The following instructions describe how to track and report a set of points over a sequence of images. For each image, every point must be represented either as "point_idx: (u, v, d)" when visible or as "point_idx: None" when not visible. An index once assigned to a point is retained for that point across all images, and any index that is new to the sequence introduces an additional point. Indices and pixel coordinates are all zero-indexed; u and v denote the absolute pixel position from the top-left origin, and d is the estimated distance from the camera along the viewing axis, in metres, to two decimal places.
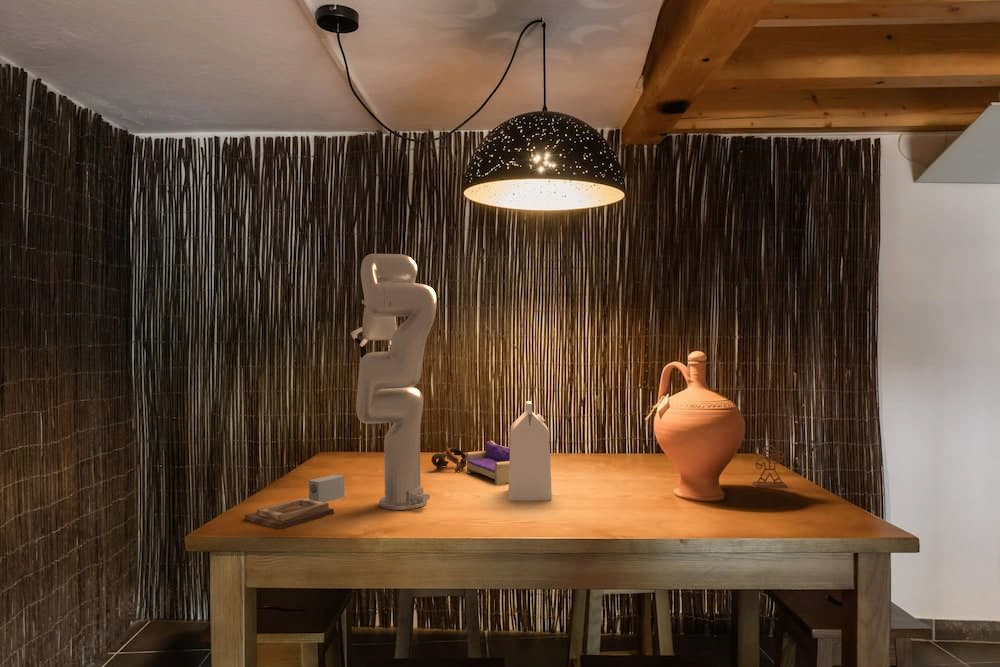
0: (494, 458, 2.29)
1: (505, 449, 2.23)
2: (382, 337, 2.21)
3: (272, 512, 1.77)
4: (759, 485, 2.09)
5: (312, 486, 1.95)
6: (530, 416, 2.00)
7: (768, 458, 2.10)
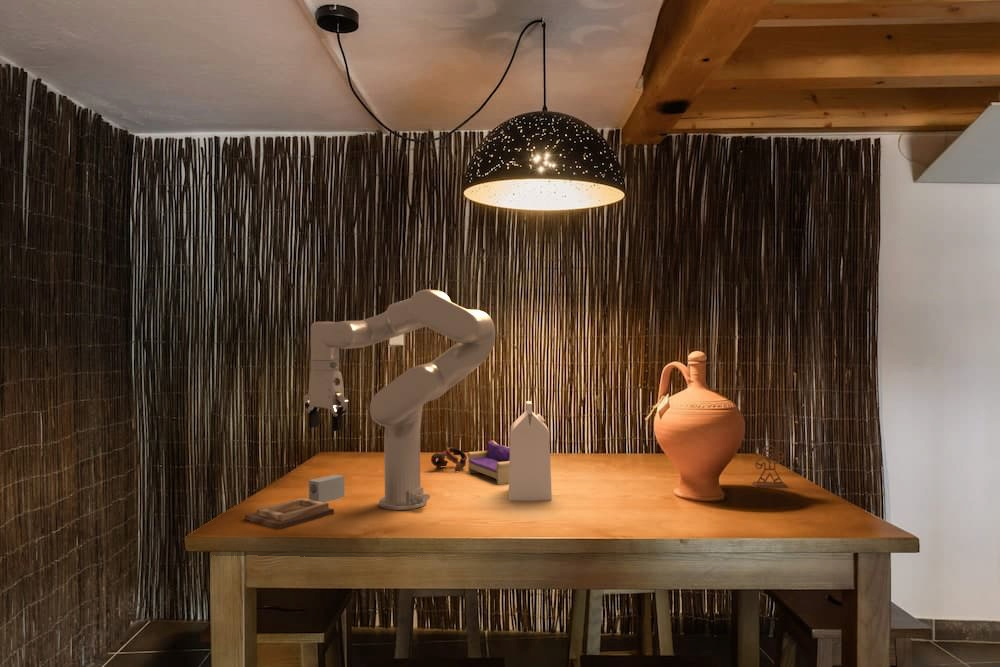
0: (495, 458, 2.29)
1: (506, 449, 2.24)
2: None
3: (272, 512, 1.77)
4: (759, 485, 2.09)
5: (312, 486, 1.95)
6: (530, 416, 2.00)
7: (768, 458, 2.10)
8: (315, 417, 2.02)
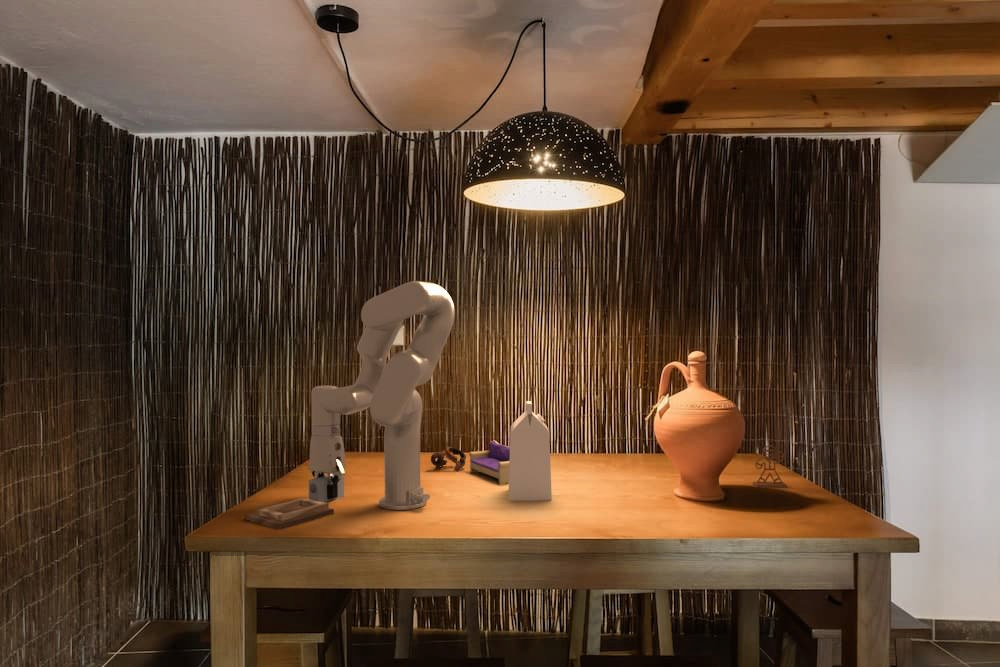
0: (497, 458, 2.30)
1: (508, 449, 2.24)
2: None
3: (272, 512, 1.77)
4: (759, 485, 2.09)
5: (312, 486, 1.95)
6: (530, 416, 2.00)
7: (768, 458, 2.10)
8: None
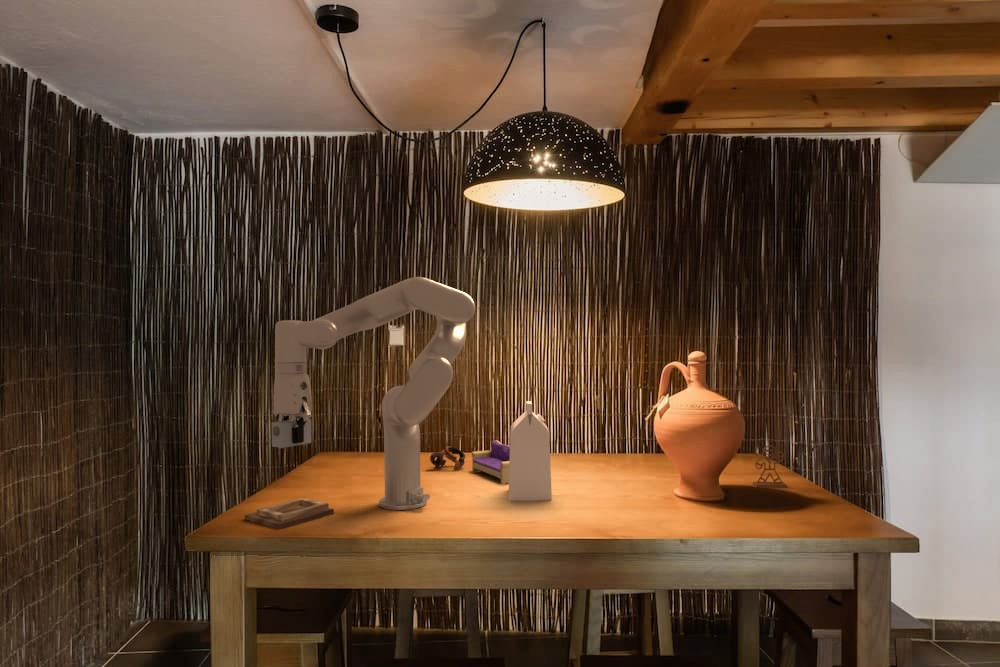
0: (499, 457, 2.30)
1: None
2: None
3: (272, 512, 1.77)
4: (759, 485, 2.09)
5: (275, 428, 1.79)
6: (530, 416, 2.00)
7: (768, 458, 2.10)
8: None
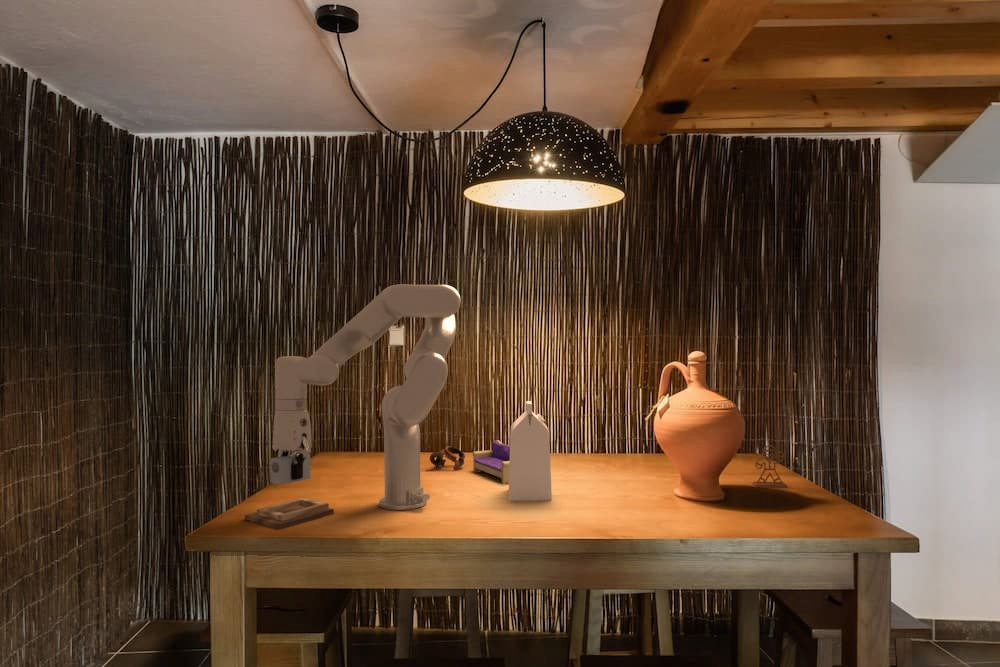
0: (500, 457, 2.30)
1: None
2: None
3: (272, 512, 1.77)
4: (759, 485, 2.09)
5: (274, 465, 1.79)
6: (530, 416, 2.00)
7: (768, 458, 2.10)
8: None
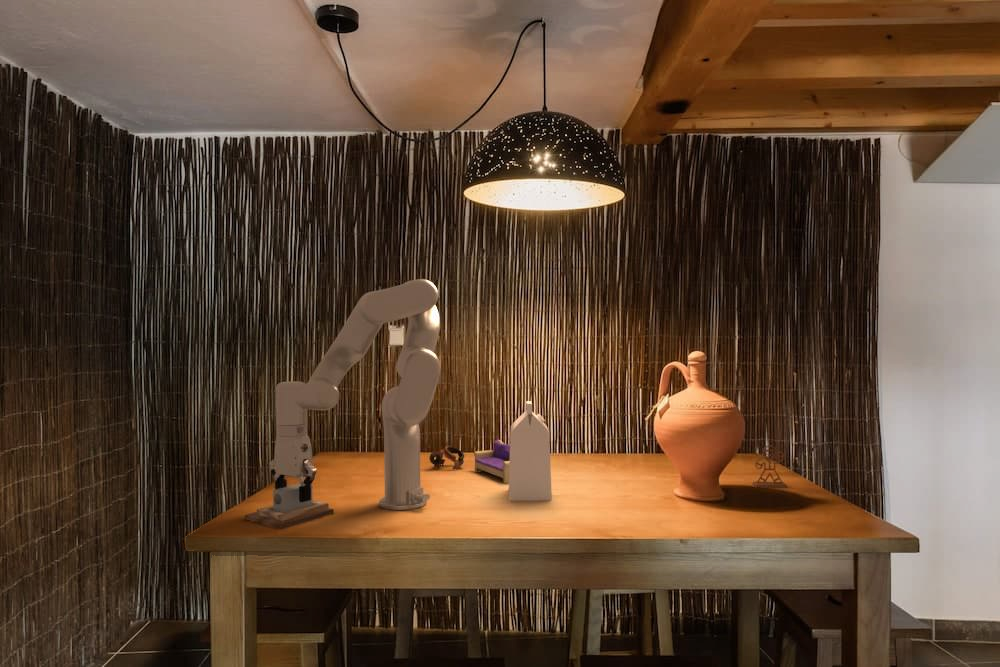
0: (502, 457, 2.31)
1: None
2: None
3: (272, 512, 1.77)
4: (759, 485, 2.09)
5: (276, 496, 1.79)
6: (530, 416, 2.00)
7: (768, 458, 2.10)
8: (282, 485, 1.85)
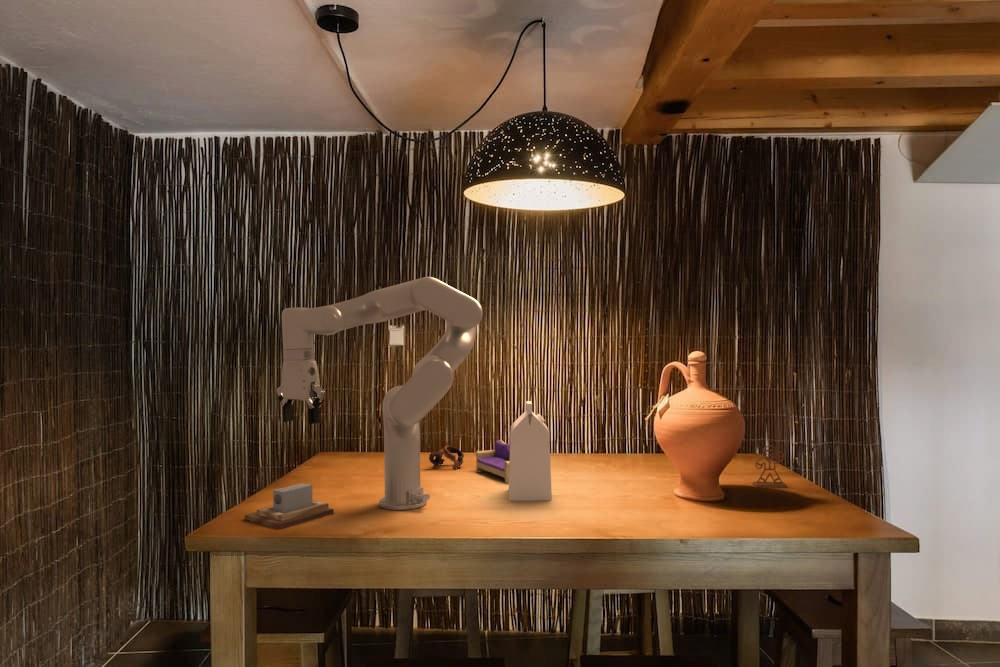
0: (503, 457, 2.31)
1: None
2: None
3: (272, 512, 1.77)
4: (759, 485, 2.09)
5: (276, 496, 1.79)
6: (530, 416, 2.00)
7: (768, 458, 2.10)
8: (290, 410, 1.88)
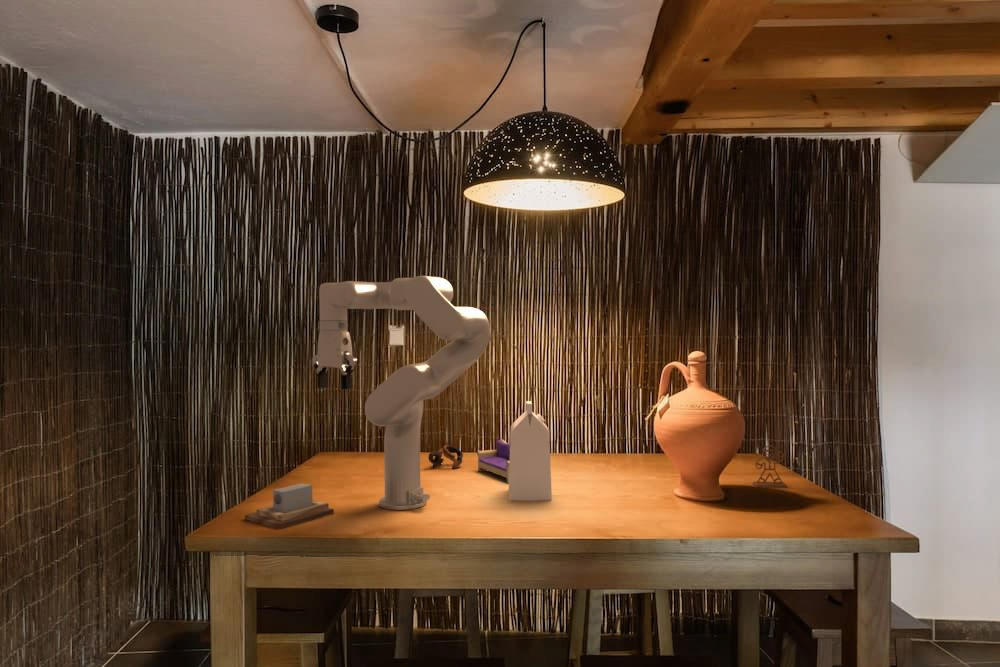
0: (505, 457, 2.31)
1: None
2: None
3: (272, 512, 1.77)
4: (759, 485, 2.09)
5: (276, 496, 1.79)
6: (530, 416, 2.00)
7: (768, 458, 2.10)
8: (324, 377, 2.05)
